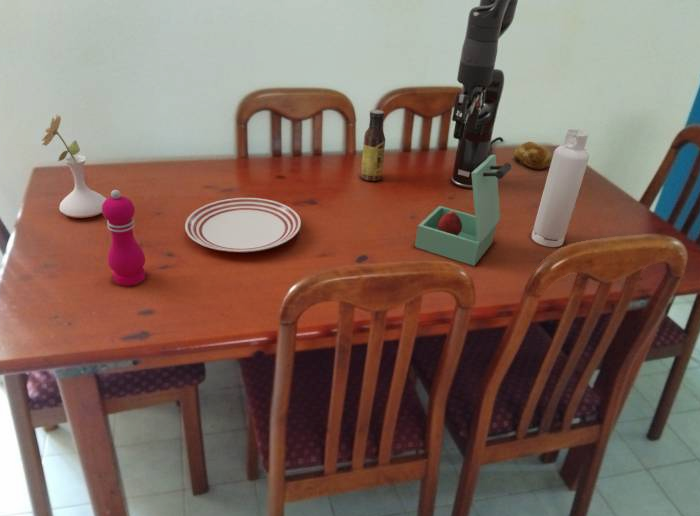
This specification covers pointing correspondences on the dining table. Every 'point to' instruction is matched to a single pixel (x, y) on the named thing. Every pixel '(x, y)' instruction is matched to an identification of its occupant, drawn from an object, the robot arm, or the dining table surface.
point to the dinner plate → (243, 225)
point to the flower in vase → (81, 198)
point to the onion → (450, 223)
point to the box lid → (487, 195)
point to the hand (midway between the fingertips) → (464, 133)
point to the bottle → (561, 190)
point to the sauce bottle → (373, 148)
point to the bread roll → (533, 155)
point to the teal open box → (453, 238)
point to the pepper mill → (123, 241)
